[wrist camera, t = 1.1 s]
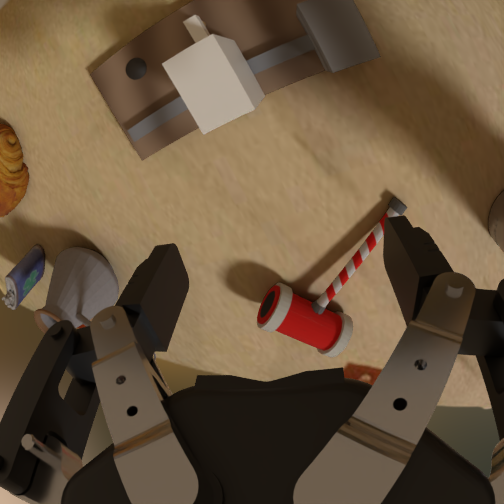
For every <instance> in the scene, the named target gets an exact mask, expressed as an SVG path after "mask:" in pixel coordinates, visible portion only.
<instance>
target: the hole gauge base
mask: <svg viewBox="0 0 504 504" xmlns="http://www.w3.org/2000/svg"><path fill="white" fill-rule="evenodd" d="M194 15H197V16H199V17H200V19H201V20H202V21H204V22H205V23H206V28H207V30H208V32H209V33H210V35H211V34H215V35H218V36H222V37H225V38H228V39H232V40H234V41H235V42H236V44H237V46H238V48H239V49H240V51H241V53H242V55H243V56H244V58H245V60H246V62H247V64H248V65H249V67H250V69H251V71H252V73H253V74H254V76H255V78H256V80H257V82H258V84H259V85H260V87H261V89H262V91H263V93H264V95H266V94H269V93H271V92H273V91H275V90H278V89H280V88H282V87H285V86H287V85H290V84H292V83H294V82H297V81H299V80H302V79H304V78H307V77H309V76H312V75H314V74H317V73H320V72H322V71H329V72H332V73H334V72H337V71H340V70H343V69H345V68H348V67H351V66H354V65H357V64H360V63H363V62H366V61H370V60H373V59H376V58H379V57H381V56H380V54H379V52H378V50H377V47H376V45H375V43H374V41H373V39H372V37H371V34H370V32H369V30H368V28H367V26H366V24H365V22H364V20H363V18H362V16H361V14H360V12H359V11H358V9H357V7H356V5H355V3H354V1H353V0H194V1H192V2H190V3H188V4H187V5H185V6H183V7H182V8H180V9H178V10H177V11H175V12H173V13H172V14H170V15H168V16H167V17H165V18H164V19H162V20H161V21H159V22H158V23H156V24H155V25H153V26H152V27H150V28H149V29H147V30H146V31H144V32H143V33H142V34H140V35H139V36H137V37H136V38H135V39H133V40H132V41H131V42H129V43H128V44H127V45H125V46H124V47H123V48H121V49H120V50H119V51H117V52H116V53H115V54H114V55H112V56H111V57H110V58H109V59H107V60H106V61H105V62H104V63H103V64H101V65H100V66H99V67H98V68H97V69H96V70H94V71H93V72H92V73H91V74H90V75H91V77H92V78H93V80H94V82H95V84H96V85H97V87H98V89H99V90H100V92H101V94H102V96H103V97H104V99H105V101H106V102H107V104H108V106H109V107H110V109H111V111H112V112H113V114H114V116H115V117H116V119H117V121H118V122H119V124H120V126H121V127H122V129H123V130H124V132H125V134H126V135H127V137H128V139H129V140H130V142H131V143H132V145H133V147H134V148H135V150H136V152H137V153H138V155H139V156H140V158H141V160H142V161H143V160H144V159H146V158H147V157H149V156H151V155H152V154H154V153H156V152H157V151H159V150H161V149H162V148H164V147H166V146H167V145H169V144H171V143H173V142H174V141H176V140H178V139H180V138H181V137H183V136H185V135H187V134H188V133H190V132H192V131H194V130H196V129H198V128H199V126H198V125H197V123H196V121H195V120H194V118H193V116H192V114H191V113H190V111H189V109H188V108H187V106H186V104H185V102H184V101H183V99H182V97H181V96H180V94H179V92H178V91H177V89H176V87H175V85H174V84H173V82H172V80H171V79H170V77H169V75H168V74H167V72H166V70H165V69H164V67H163V65H162V63H164V62H165V61H167V60H169V59H170V58H172V57H173V56H175V55H177V54H178V53H180V52H182V51H183V50H185V49H187V48H188V47H190V46H192V45H193V44H195V41H194V40H193V38H192V36H191V35H190V33H189V31H188V30H187V28H186V26H185V25H184V23H183V21H185V20H187V19H188V18H190V17H192V16H194Z"/></svg>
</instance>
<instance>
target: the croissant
mask: <svg viewBox="0 0 504 504" xmlns="http://www.w3.org/2000/svg"><path fill="white" fill-rule="evenodd" d="M27 170H28V167H27V166H26V164H25V163H23V153H22V151H21V146H20V143H19V140H18V139H17V136H16V134H15V132H14V131H13V129H12V128H10V127H9V126H7V125H4V124H0V217H4V216H5V215H8V213H9V212H11V210H13V209H14V208H15V207H16V206H17V205H18V204H19V202H20V201H21V199H22V198H23V197H24V195H25V193H26V189H27V185H28V182H29V174H28V172H27Z"/></svg>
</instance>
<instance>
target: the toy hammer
mask: <svg viewBox="0 0 504 504" xmlns="http://www.w3.org/2000/svg"><path fill="white" fill-rule="evenodd" d="M388 205H389V206H390V208H389V209H388V211H387V212H386V213H385V215H384V216H383V217H382V219H381V220H380V222H379V223H378V224H377V226H376V227H375V228H374V230H373V231H372V232H371V234H370V235H369V236H368V238H367V239H366V240H365V242H364V243H363V244H362V245H361V247H360V248H359V249H358V251H357V252H356V253H355V254H354V256H353V257H352V258H351V260H350V261H349V262H348V263H347V265H346V266H345V267H344V268H343V270H342V271H341V272H340V273H339V275H338V276H337V277H336V278H335V280H334V281H333V282H332V283H331V285H330V286H329V287H328V288H327V289H326V291H325V292H324V293H323V294H322V295H321V297H320V298H319V299H317V300H316V301H314V302H313V303H312V302H310V301H308V300H306V299H304V298H302V297H300V296H298V295H296V294H294V293H293V292H292V289H291V288H290V287H288V286H286V285H284V284H282V283H280V282H279V283H277V284H276V285H275V286H273V287H272V288H271V289H270V290H269V291H268V293H267V294H266V296H265V297H264V299H263V301H262V303H261V306H260V308H259V312H258V316H257V325H258V327H259V328H261V329H263V330H265V331H268V332H273V331H275V330H276V331H278V332H280V333H282V334H285V335H287V336H289V337H292V338H294V339H297V340H299V341H301V342H304V343H306V344H309V345H311V346H313V347H316V348H317V350H318V352H319V353H321V354H323V355H326V356H328V357H335V356H337V355H339V354H340V353H341V352H342V351H343V350H344V349H345V347H346V346H347V344H348V342H349V340H350V338H351V335H352V330H353V322H352V319H351V317H350V316H348V315H346V314H344V313H342V312H340V311H336V312H335V313H333V312H331V311H329V310H327V309H325V308H326V305H327V304H328V303H329V302H330V300H331V299H332V298H333V297H334V296H335V295H336V293H337V292H338V291H339V290H340V289H341V287H342V286H343V285H344V284H345V283H346V281H347V280H348V279H349V278H350V277H351V275H352V274H353V273H354V272H355V270H356V269H357V268H358V267H359V266H360V264H361V263H362V262H363V261H364V259H365V258H366V257H367V256H368V254H369V253H370V252H371V250H372V249H373V248H374V247H375V245H376V244H377V243H378V241H379V240H380V239H381V238H382V236H383V235H384V221H385V218H386V217H394V216H398V215H402V214H403V213H404V211H405V210H406V209H407V206H405V205H404V204H403V203H402V202H401V201H399V200H398V199H397V198H395V197H393V199H392V200H391V202H390V203H389V204H388Z"/></svg>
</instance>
